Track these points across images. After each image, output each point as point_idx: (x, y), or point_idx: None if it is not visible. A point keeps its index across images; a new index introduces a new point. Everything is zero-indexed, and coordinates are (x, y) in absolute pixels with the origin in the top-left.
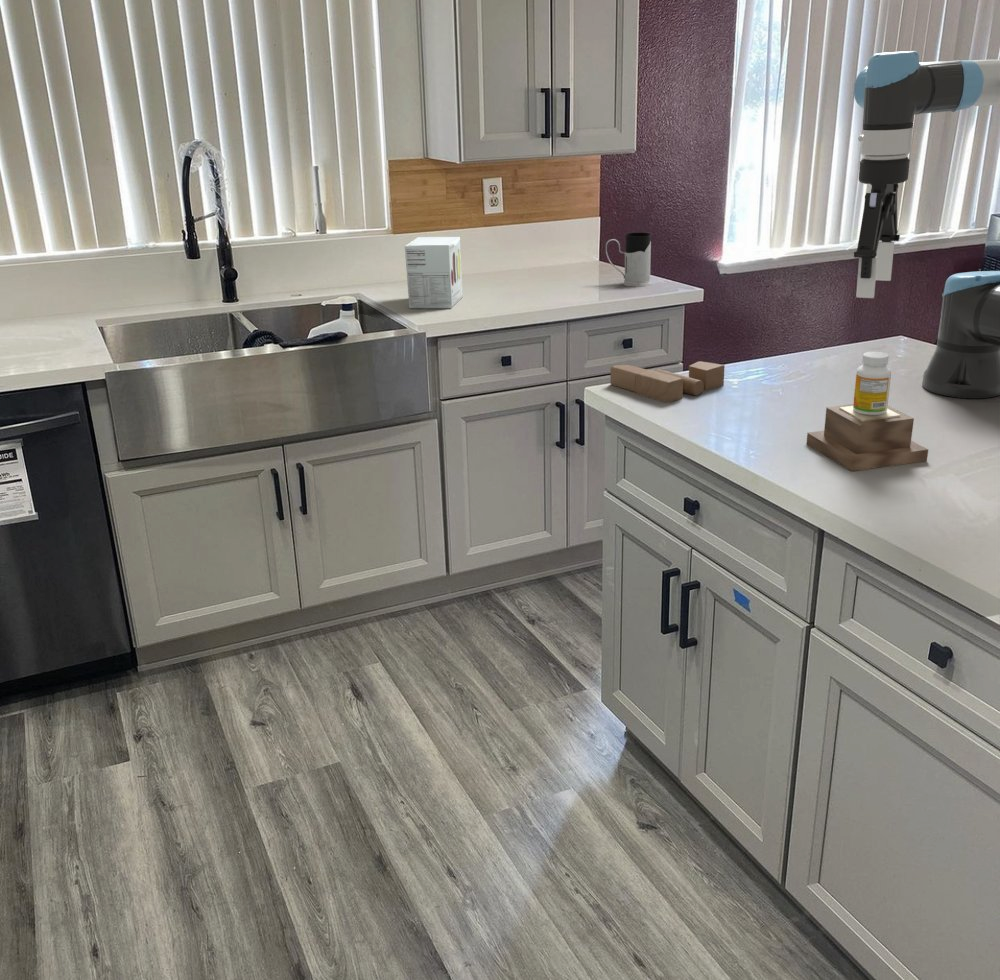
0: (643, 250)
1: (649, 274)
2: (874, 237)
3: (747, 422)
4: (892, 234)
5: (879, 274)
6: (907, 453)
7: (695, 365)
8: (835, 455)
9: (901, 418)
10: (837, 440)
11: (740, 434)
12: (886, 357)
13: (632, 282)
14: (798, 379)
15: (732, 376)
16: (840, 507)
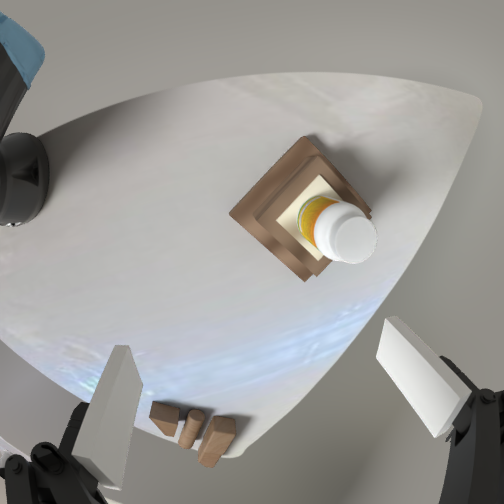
0: (3, 468)
1: (4, 454)
2: None
3: (257, 351)
4: (86, 495)
5: (135, 387)
6: (325, 157)
7: (172, 434)
8: None
9: (325, 171)
10: None
11: (298, 342)
12: (366, 218)
13: None
14: (85, 348)
15: None
16: (436, 198)
